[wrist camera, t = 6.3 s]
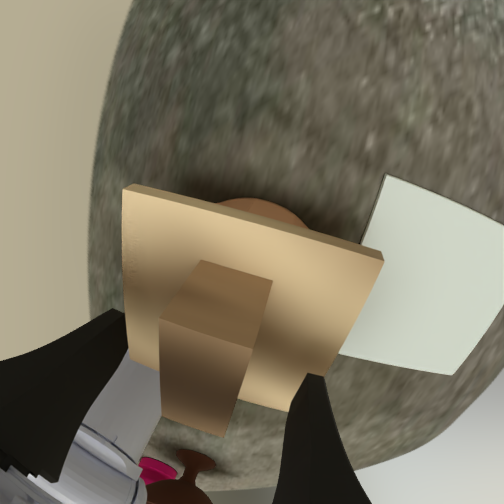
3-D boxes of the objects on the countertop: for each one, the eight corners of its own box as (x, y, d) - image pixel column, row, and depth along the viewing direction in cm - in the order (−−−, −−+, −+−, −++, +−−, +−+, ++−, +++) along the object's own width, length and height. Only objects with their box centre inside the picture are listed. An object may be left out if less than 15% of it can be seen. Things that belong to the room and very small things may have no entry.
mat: (451, 371, 18) (452, 375, 18) (315, 343, 19) (315, 347, 19) (532, 241, 12) (535, 243, 12) (385, 173, 13) (386, 175, 13)
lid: (301, 403, 15) (291, 470, 12) (136, 350, 16) (99, 404, 12) (380, 251, 11) (406, 328, 7) (133, 183, 11) (59, 224, 8)
